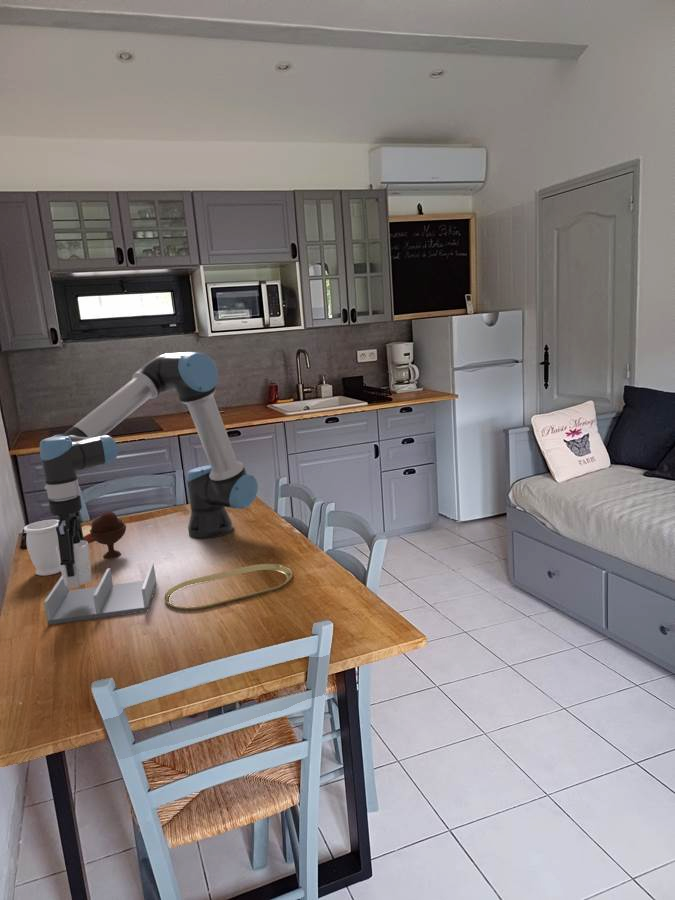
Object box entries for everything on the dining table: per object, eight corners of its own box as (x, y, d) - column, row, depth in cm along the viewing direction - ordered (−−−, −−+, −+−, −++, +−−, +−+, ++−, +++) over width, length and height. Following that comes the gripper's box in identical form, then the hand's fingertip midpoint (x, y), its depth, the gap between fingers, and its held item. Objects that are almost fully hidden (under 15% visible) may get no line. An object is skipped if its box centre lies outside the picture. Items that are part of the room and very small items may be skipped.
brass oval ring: (302, 586, 170) (302, 580, 170) (172, 619, 156) (171, 613, 156) (279, 563, 187) (278, 558, 187) (159, 592, 173) (158, 587, 173)
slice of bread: (59, 553, 210) (58, 543, 209) (54, 539, 225) (53, 529, 225) (115, 541, 218) (114, 531, 217) (107, 527, 234) (105, 518, 233)
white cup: (67, 576, 169) (61, 541, 167) (97, 574, 170) (92, 538, 168) (57, 589, 162) (51, 552, 160) (88, 586, 162) (82, 549, 160)
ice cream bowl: (135, 548, 208) (128, 505, 205) (120, 561, 197) (113, 516, 194) (104, 549, 209) (97, 506, 206) (88, 562, 198) (80, 517, 195)
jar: (76, 565, 197) (68, 519, 194) (51, 578, 187) (43, 531, 184) (49, 563, 200) (41, 518, 197) (24, 576, 191) (15, 529, 188)
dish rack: (156, 583, 178) (153, 562, 177) (148, 611, 161) (144, 588, 160) (66, 594, 175) (62, 574, 174) (48, 624, 158) (43, 601, 156)
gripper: (59, 488, 170) (72, 568, 175) (36, 510, 151) (52, 598, 155) (88, 485, 171) (100, 564, 176) (69, 506, 152) (83, 594, 156)
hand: (77, 580), depth 166 cm, fingers closed on white cup, 7 cm apart
